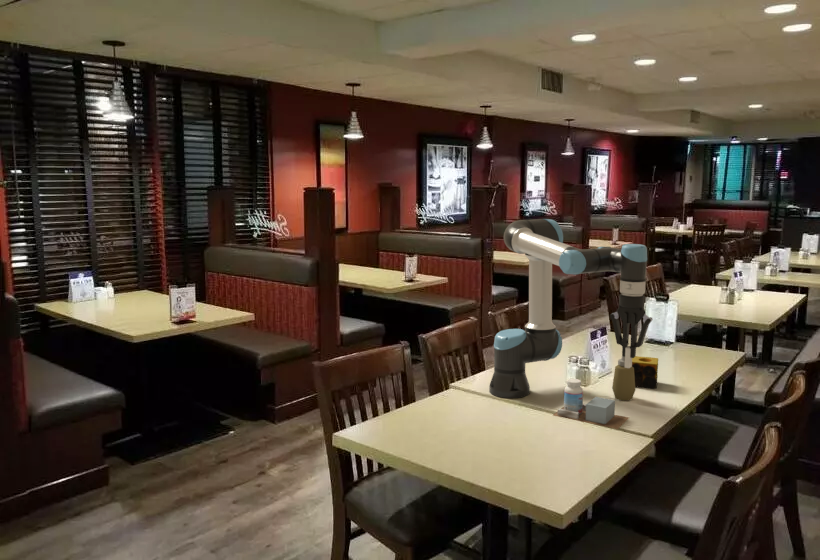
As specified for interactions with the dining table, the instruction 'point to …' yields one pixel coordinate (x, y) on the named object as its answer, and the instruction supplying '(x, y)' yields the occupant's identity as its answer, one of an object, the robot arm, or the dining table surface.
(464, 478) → the dining table surface
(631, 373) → the squeeze bottle
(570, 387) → the pill bottle
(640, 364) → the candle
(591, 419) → the cover
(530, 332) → the robot arm
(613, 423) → the board
